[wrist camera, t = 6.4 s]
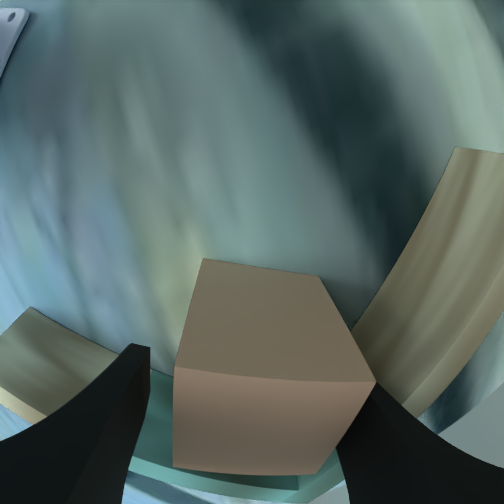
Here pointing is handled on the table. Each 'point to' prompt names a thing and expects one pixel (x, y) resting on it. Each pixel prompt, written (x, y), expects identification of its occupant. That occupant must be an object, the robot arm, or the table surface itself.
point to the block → (263, 374)
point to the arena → (364, 332)
